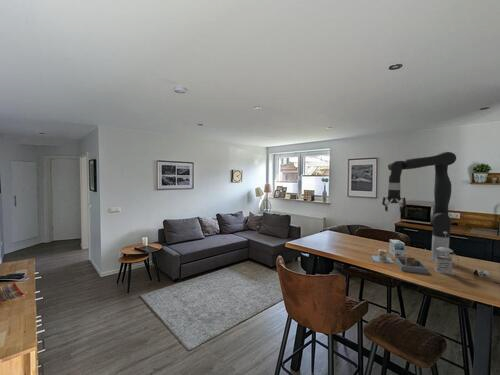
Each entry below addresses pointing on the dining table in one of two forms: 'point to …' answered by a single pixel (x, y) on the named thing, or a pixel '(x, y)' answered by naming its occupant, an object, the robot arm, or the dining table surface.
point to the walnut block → (409, 261)
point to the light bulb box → (397, 248)
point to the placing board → (388, 259)
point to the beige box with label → (382, 254)
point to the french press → (444, 261)
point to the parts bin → (418, 266)
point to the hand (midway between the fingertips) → (393, 211)
